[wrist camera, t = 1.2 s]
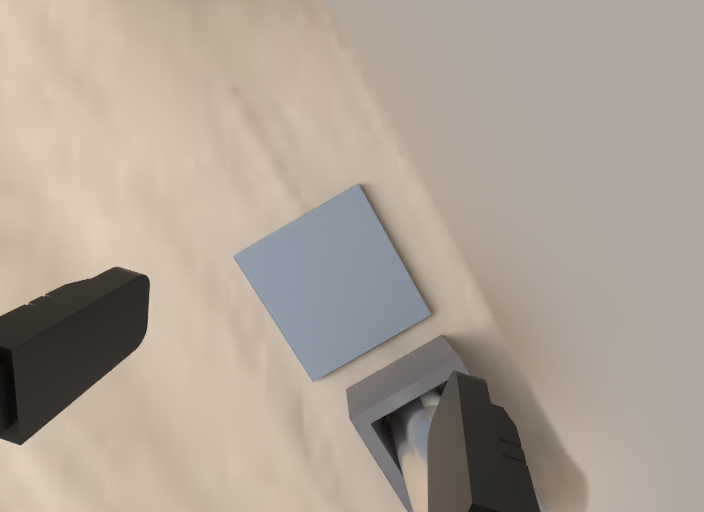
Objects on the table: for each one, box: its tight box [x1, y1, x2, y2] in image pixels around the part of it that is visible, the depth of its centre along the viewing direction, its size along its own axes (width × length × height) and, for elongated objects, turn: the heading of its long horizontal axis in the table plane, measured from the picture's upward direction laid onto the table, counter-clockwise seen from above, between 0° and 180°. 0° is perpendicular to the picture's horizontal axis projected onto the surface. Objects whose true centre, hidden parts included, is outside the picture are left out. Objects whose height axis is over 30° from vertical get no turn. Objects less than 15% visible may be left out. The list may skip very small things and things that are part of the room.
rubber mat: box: [233, 184, 431, 382], centre depth 35 cm, size 13×12×1 cm
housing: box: [346, 335, 547, 512], centre depth 35 cm, size 18×10×6 cm, turn 30°
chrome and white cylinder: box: [386, 382, 446, 512], centre depth 25 cm, size 6×6×25 cm
